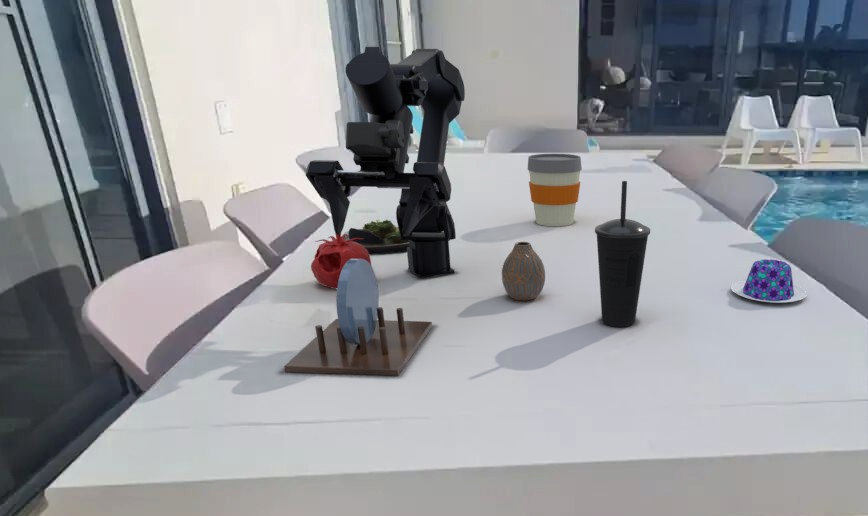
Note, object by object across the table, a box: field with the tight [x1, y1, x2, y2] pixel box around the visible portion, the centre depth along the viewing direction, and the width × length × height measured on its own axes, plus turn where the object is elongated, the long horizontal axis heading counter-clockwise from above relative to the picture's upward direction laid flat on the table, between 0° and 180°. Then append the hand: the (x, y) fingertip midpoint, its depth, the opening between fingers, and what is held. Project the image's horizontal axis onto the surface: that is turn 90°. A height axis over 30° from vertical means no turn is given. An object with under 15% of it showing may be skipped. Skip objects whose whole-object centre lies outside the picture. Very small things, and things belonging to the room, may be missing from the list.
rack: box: [283, 306, 433, 376], centre depth 83 cm, size 16×14×4 cm
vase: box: [501, 241, 546, 302], centre depth 101 cm, size 7×7×9 cm
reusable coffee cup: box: [527, 153, 582, 227], centre depth 150 cm, size 13×12×15 cm
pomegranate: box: [310, 231, 373, 289], centre depth 107 cm, size 10×10×9 cm
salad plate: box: [342, 219, 409, 255], centre depth 134 cm, size 19×18×5 cm
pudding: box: [730, 259, 808, 304], centre depth 104 cm, size 12×12×5 cm
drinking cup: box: [594, 180, 651, 328], centre depth 89 cm, size 8×8×20 cm
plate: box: [336, 258, 380, 345], centre depth 82 cm, size 11×1×11 cm, turn 176°
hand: (370, 233), depth 85 cm, fingers open, 9 cm apart
